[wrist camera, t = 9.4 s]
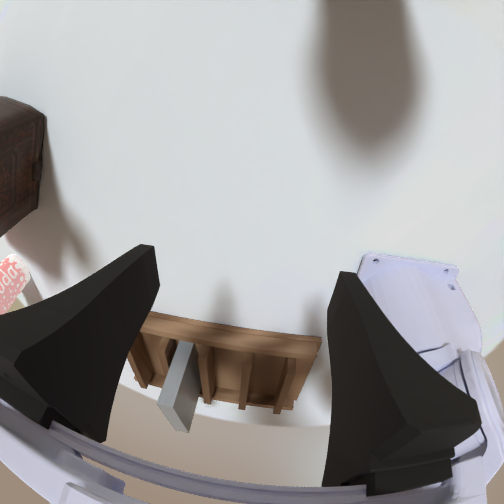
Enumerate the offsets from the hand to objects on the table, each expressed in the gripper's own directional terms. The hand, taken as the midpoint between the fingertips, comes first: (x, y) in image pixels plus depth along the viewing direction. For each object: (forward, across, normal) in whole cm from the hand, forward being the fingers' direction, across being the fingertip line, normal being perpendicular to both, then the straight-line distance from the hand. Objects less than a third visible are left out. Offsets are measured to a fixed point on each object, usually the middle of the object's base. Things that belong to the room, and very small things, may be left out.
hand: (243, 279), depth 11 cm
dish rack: (+10, +4, +21) cm, 24 cm away
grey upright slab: (+9, +6, +21) cm, 24 cm away
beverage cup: (+10, +31, +13) cm, 35 cm away
